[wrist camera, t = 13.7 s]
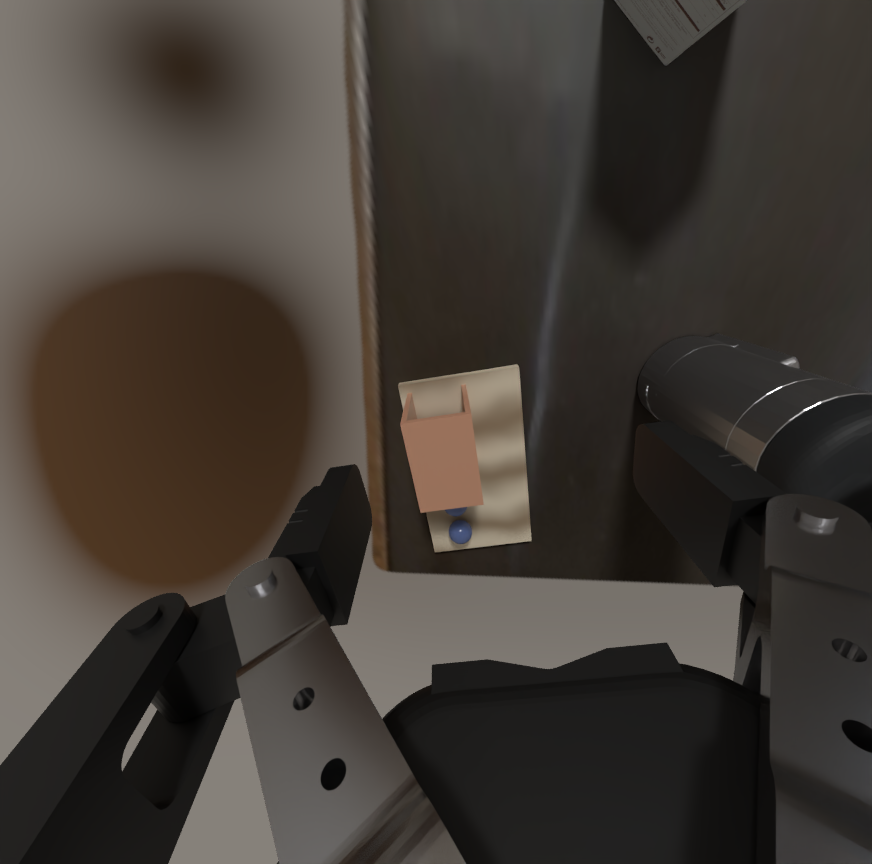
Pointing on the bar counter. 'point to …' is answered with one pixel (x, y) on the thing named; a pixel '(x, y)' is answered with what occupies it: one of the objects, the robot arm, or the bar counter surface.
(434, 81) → the bar counter surface
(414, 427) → the terracotta cover
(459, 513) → the navy marble front
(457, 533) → the navy marble back
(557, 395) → the bar counter surface
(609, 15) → the bar counter surface
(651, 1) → the supplement box
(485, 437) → the birch mat
